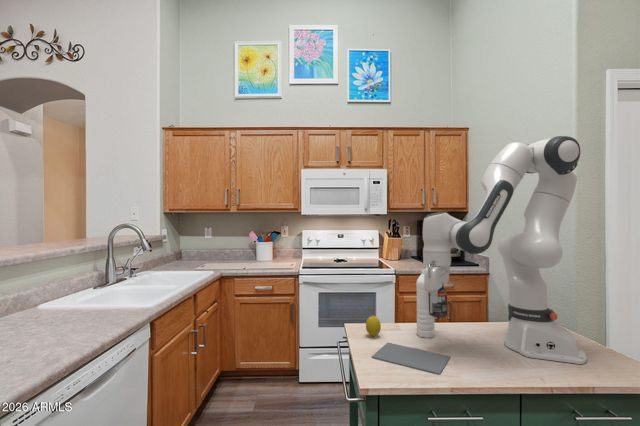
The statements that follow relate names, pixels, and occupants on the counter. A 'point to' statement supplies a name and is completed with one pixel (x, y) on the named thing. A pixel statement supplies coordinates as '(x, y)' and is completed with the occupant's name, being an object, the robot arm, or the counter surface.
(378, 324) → the lemon
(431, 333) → the water bottle
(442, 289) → the supplement bottle
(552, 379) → the counter surface
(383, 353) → the mat
